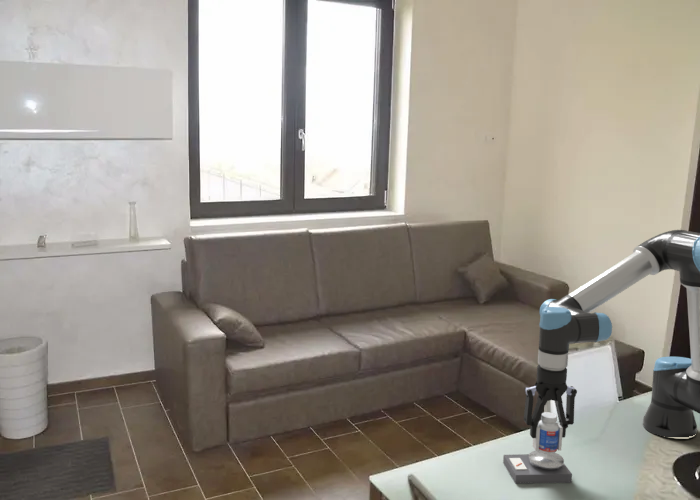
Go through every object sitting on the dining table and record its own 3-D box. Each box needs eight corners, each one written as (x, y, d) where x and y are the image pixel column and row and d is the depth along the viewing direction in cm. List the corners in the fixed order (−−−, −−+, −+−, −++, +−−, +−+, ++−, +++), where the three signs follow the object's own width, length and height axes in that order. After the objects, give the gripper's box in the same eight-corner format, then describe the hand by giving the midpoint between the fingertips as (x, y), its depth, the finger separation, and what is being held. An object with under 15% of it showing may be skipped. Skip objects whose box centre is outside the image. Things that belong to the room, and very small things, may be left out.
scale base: (555, 461, 178) (556, 451, 177) (571, 482, 167) (572, 471, 166) (503, 462, 177) (503, 452, 176) (515, 483, 166) (516, 472, 165)
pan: (556, 453, 176) (556, 449, 176) (568, 469, 167) (569, 465, 167) (524, 453, 176) (524, 450, 175) (535, 470, 167) (535, 466, 167)
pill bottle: (546, 455, 167) (548, 420, 166) (532, 447, 172) (533, 413, 170) (561, 451, 170) (563, 416, 168) (547, 442, 174) (549, 409, 173)
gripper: (580, 360, 171) (574, 441, 175) (513, 361, 170) (508, 442, 174) (592, 370, 164) (586, 454, 168) (522, 371, 163) (517, 455, 167)
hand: (546, 448), depth 171 cm, fingers closed on pill bottle, 5 cm apart
